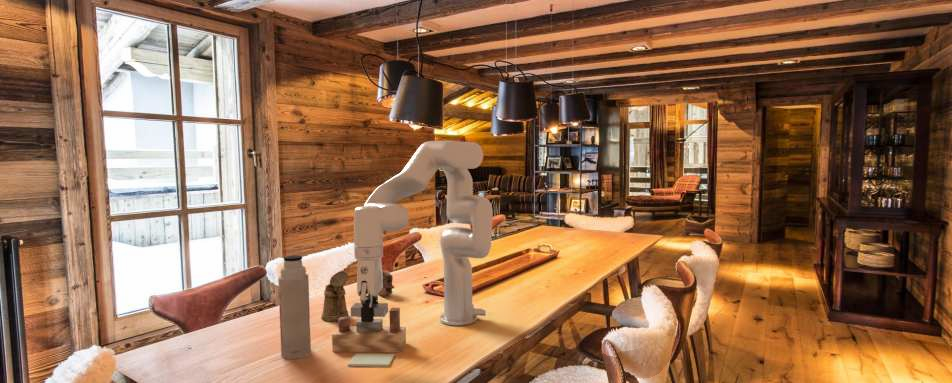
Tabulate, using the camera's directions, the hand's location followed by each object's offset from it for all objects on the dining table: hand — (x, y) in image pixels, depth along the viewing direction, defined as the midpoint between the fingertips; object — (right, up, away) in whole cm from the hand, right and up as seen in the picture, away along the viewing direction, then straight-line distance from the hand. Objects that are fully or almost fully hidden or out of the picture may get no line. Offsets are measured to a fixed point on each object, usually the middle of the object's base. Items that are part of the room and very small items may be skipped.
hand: (369, 317), depth 138 cm
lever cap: (0, +1, 0) cm, 1 cm away
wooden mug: (-19, -10, +37) cm, 43 cm away
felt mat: (0, -12, +1) cm, 12 cm away
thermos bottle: (-23, -12, +7) cm, 26 cm away
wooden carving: (-9, -8, +66) cm, 67 cm away
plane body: (-2, -11, +11) cm, 16 cm away
